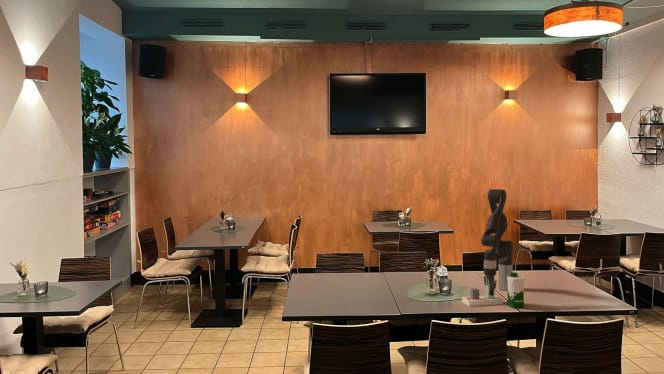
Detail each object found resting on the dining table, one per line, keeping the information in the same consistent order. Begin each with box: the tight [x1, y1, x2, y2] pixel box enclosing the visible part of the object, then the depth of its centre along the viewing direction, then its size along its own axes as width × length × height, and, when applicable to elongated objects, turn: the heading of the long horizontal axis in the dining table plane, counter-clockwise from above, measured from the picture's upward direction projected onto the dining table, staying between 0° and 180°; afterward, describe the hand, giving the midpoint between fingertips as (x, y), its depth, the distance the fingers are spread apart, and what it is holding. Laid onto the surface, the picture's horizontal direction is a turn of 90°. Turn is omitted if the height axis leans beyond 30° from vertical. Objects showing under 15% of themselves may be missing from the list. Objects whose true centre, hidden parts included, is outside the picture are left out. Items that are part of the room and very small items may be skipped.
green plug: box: [485, 285, 495, 299], centre depth 350 cm, size 4×4×9 cm
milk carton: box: [507, 272, 525, 309], centre depth 340 cm, size 9×9×20 cm
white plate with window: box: [461, 287, 504, 307], centre depth 350 cm, size 22×11×9 cm, turn 99°
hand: (490, 294), depth 351 cm, fingers closed on green plug, 4 cm apart
